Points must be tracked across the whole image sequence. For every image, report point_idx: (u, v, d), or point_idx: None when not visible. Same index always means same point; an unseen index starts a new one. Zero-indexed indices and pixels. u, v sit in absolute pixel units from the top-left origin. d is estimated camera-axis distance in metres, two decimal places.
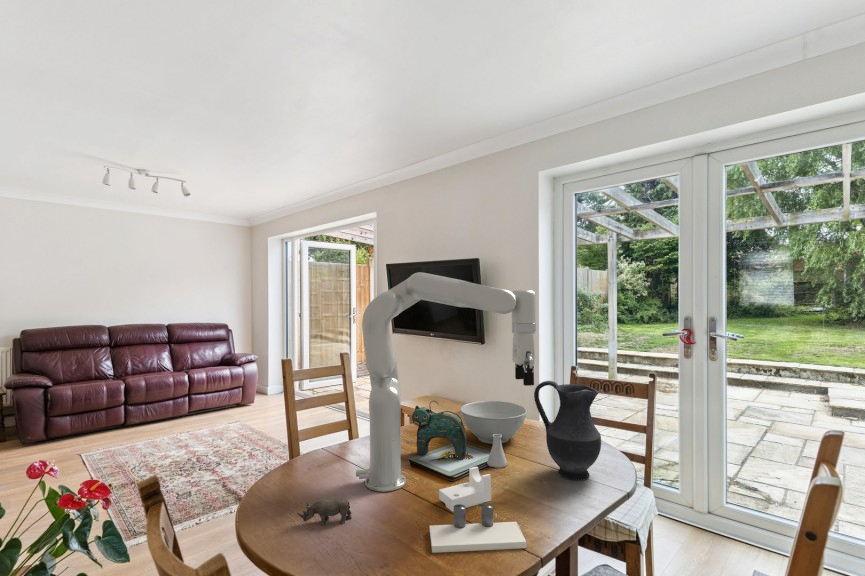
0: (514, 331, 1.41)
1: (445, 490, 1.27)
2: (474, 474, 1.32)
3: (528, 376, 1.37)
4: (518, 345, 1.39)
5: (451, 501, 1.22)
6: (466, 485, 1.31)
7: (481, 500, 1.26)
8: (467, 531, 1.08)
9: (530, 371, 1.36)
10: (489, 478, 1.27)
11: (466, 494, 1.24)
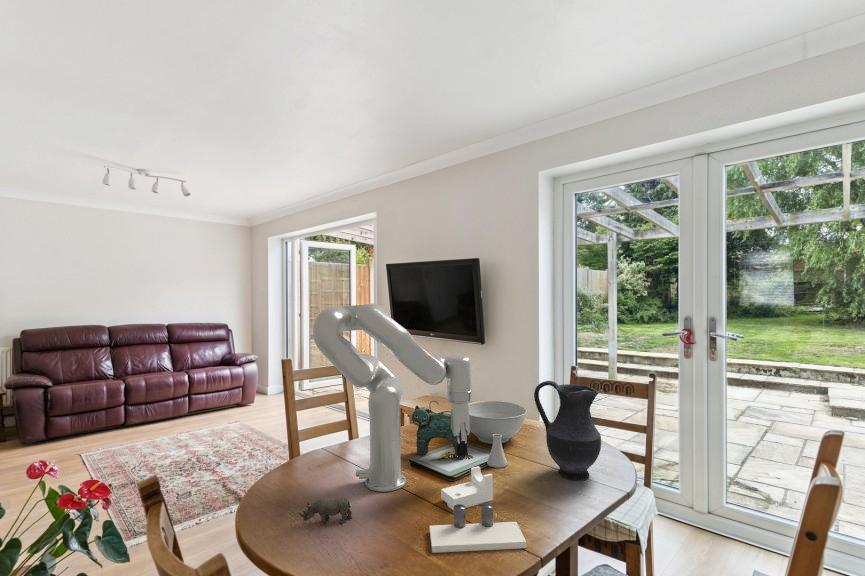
0: (449, 400, 1.37)
1: (447, 489, 1.27)
2: (476, 474, 1.32)
3: (461, 447, 1.38)
4: (453, 415, 1.36)
5: (453, 501, 1.22)
6: (468, 485, 1.31)
7: (482, 499, 1.26)
8: (467, 531, 1.08)
9: (463, 442, 1.37)
10: (491, 478, 1.28)
11: (468, 494, 1.25)
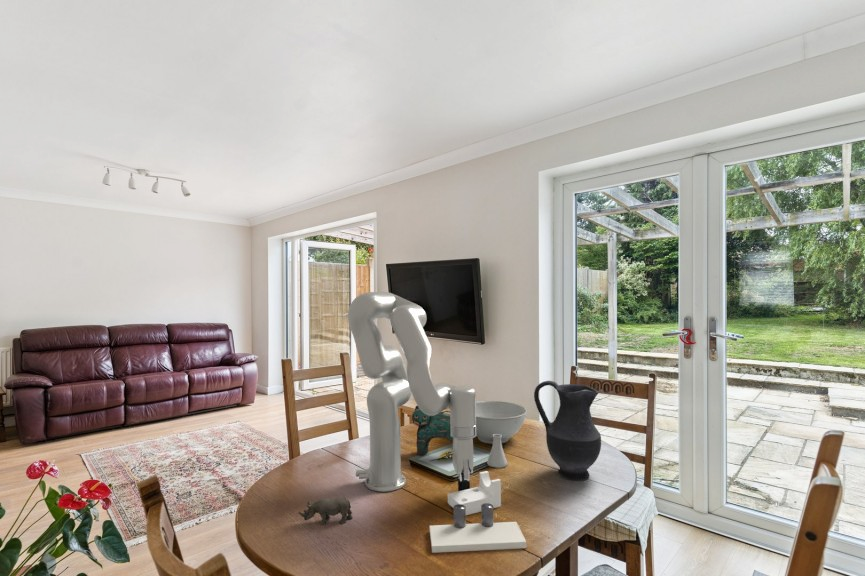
0: (452, 434, 1.28)
1: (454, 494, 1.24)
2: (484, 479, 1.28)
3: (463, 485, 1.28)
4: (455, 451, 1.26)
5: None
6: (476, 490, 1.28)
7: None
8: (467, 531, 1.08)
9: (465, 480, 1.28)
10: (499, 483, 1.24)
11: (475, 499, 1.21)
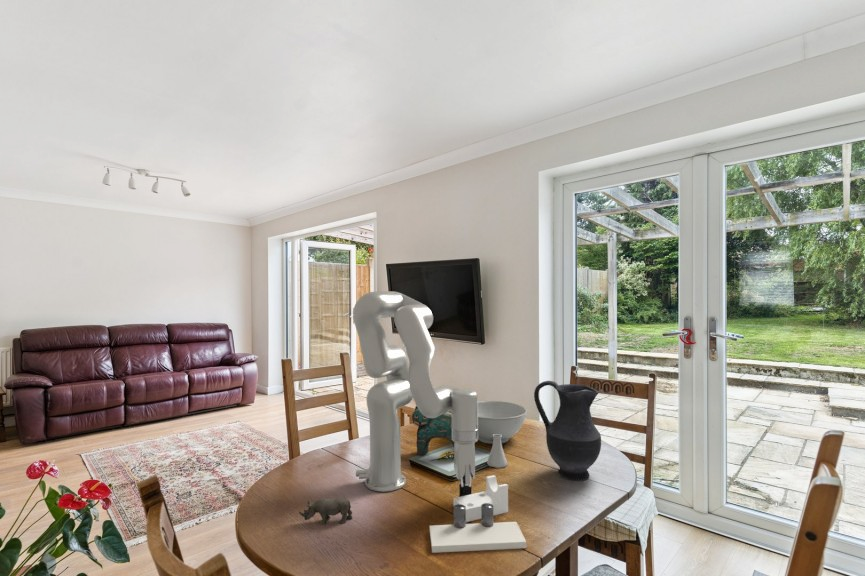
0: (453, 439, 1.24)
1: (460, 499, 1.22)
2: (491, 483, 1.25)
3: (465, 491, 1.25)
4: (457, 456, 1.23)
5: None
6: (482, 494, 1.25)
7: (497, 511, 1.19)
8: (467, 531, 1.08)
9: (467, 486, 1.24)
10: (506, 488, 1.21)
11: (481, 504, 1.18)
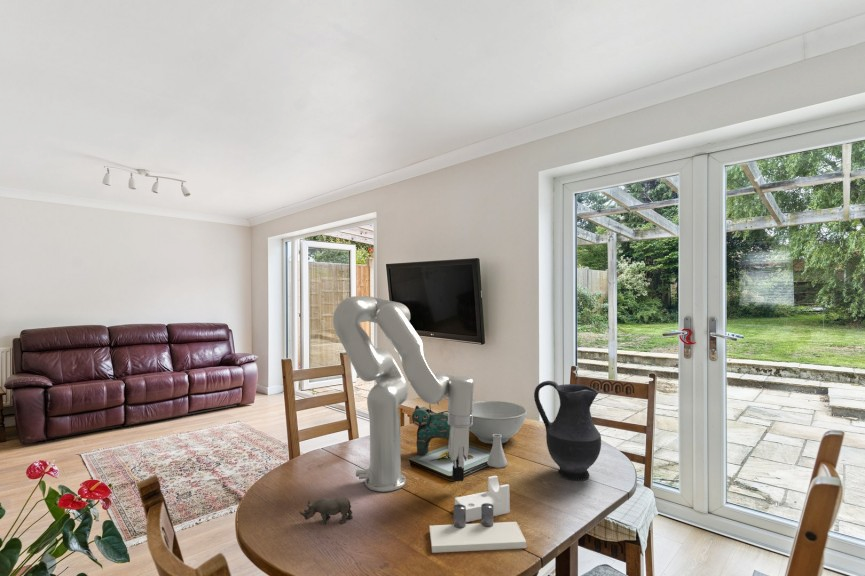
0: (449, 422, 1.31)
1: (461, 499, 1.22)
2: (493, 483, 1.25)
3: (457, 472, 1.32)
4: (452, 438, 1.30)
5: None
6: (484, 494, 1.25)
7: (498, 511, 1.19)
8: (467, 531, 1.08)
9: (459, 467, 1.31)
10: (508, 489, 1.20)
11: None
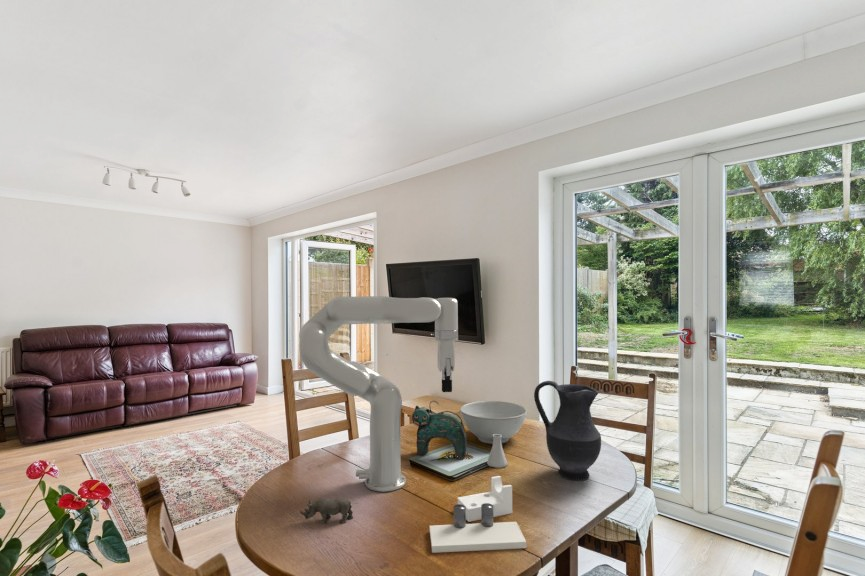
0: (436, 338, 1.44)
1: (464, 498, 1.22)
2: (496, 484, 1.25)
3: (446, 383, 1.44)
4: (439, 352, 1.42)
5: (467, 511, 1.16)
6: (487, 495, 1.24)
7: (500, 511, 1.19)
8: (467, 531, 1.08)
9: (448, 378, 1.44)
10: (510, 489, 1.20)
11: None
